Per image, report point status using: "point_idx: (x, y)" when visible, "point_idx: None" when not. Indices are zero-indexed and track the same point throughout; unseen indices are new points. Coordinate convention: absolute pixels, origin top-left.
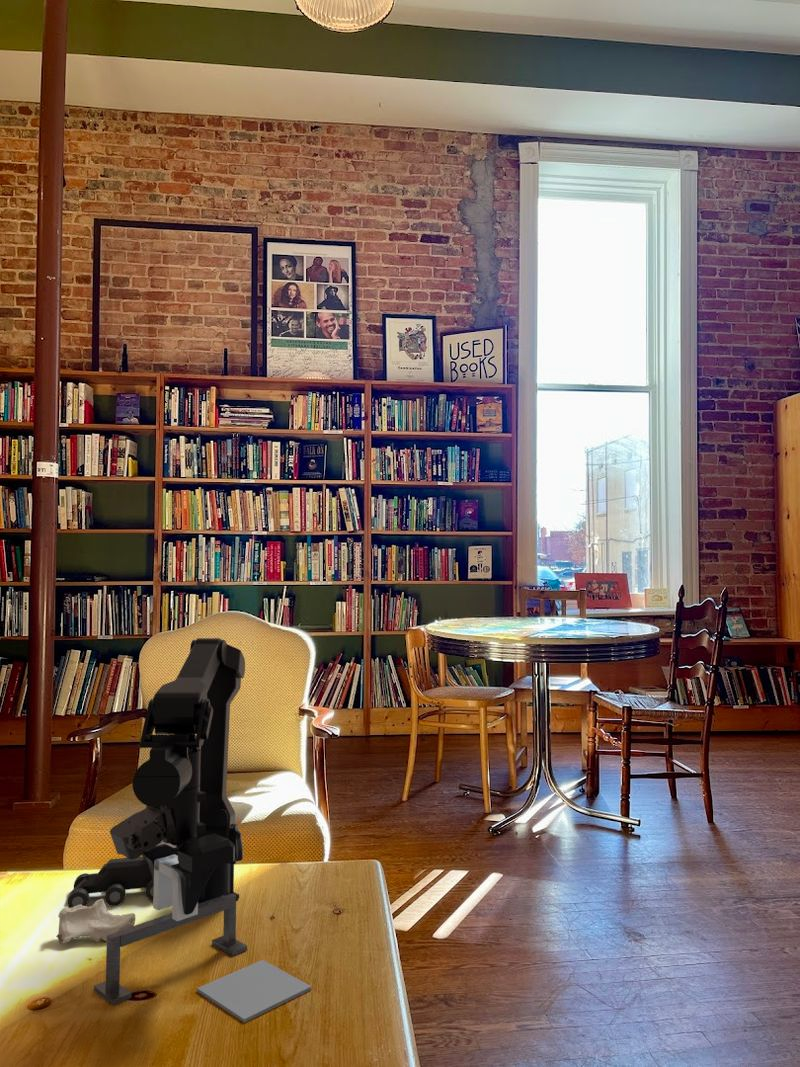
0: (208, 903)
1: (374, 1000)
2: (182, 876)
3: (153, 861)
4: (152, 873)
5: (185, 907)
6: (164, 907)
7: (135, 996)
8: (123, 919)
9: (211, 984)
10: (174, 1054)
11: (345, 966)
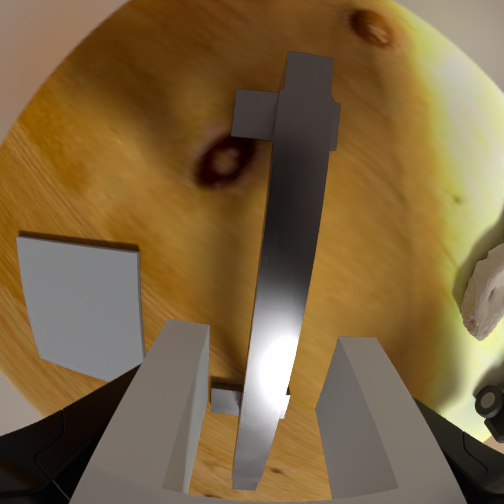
0: (247, 450)
1: (4, 362)
2: (9, 469)
3: (480, 498)
4: (461, 440)
5: (129, 372)
6: (331, 365)
7: (231, 148)
8: (486, 315)
9: (128, 281)
10: (30, 110)
11: None
